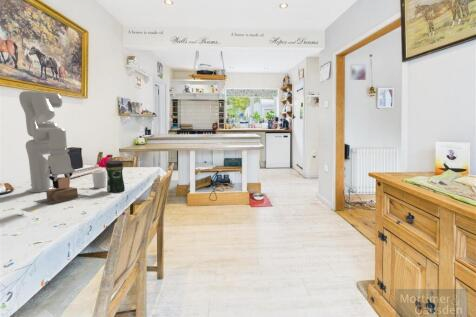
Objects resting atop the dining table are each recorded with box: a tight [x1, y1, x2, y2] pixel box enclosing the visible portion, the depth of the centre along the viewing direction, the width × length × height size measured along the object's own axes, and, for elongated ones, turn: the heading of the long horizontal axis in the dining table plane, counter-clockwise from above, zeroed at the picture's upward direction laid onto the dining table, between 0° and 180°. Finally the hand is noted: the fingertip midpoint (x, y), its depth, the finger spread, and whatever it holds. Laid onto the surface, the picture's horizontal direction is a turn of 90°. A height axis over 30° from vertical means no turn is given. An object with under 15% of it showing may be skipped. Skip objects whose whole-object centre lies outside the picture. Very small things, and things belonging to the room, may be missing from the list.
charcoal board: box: [33, 193, 89, 206], centre depth 145 cm, size 16×20×2 cm
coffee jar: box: [105, 160, 125, 194], centre depth 166 cm, size 10×8×19 cm
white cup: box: [91, 170, 107, 189], centre depth 179 cm, size 8×8×10 cm
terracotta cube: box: [55, 176, 70, 189], centre depth 144 cm, size 5×5×5 cm
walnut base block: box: [45, 186, 79, 202], centre depth 145 cm, size 10×10×5 cm
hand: (61, 186), depth 144 cm, fingers closed on terracotta cube, 5 cm apart
